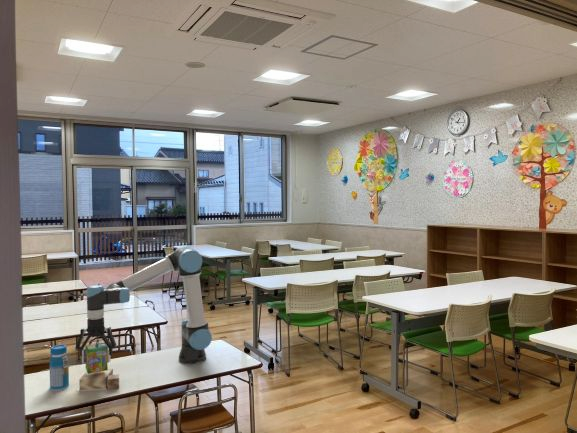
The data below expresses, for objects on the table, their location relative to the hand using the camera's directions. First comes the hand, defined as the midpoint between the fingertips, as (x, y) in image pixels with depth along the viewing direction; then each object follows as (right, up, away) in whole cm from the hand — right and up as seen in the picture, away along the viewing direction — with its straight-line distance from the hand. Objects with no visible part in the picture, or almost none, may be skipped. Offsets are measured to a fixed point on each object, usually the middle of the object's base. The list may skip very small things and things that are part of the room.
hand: (96, 362), depth 215 cm
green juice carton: (0, -4, 0) cm, 4 cm away
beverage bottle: (-17, -12, -3) cm, 20 cm away
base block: (0, -11, 0) cm, 11 cm away
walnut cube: (+10, -11, -4) cm, 15 cm away
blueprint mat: (+3, -11, +3) cm, 12 cm away
